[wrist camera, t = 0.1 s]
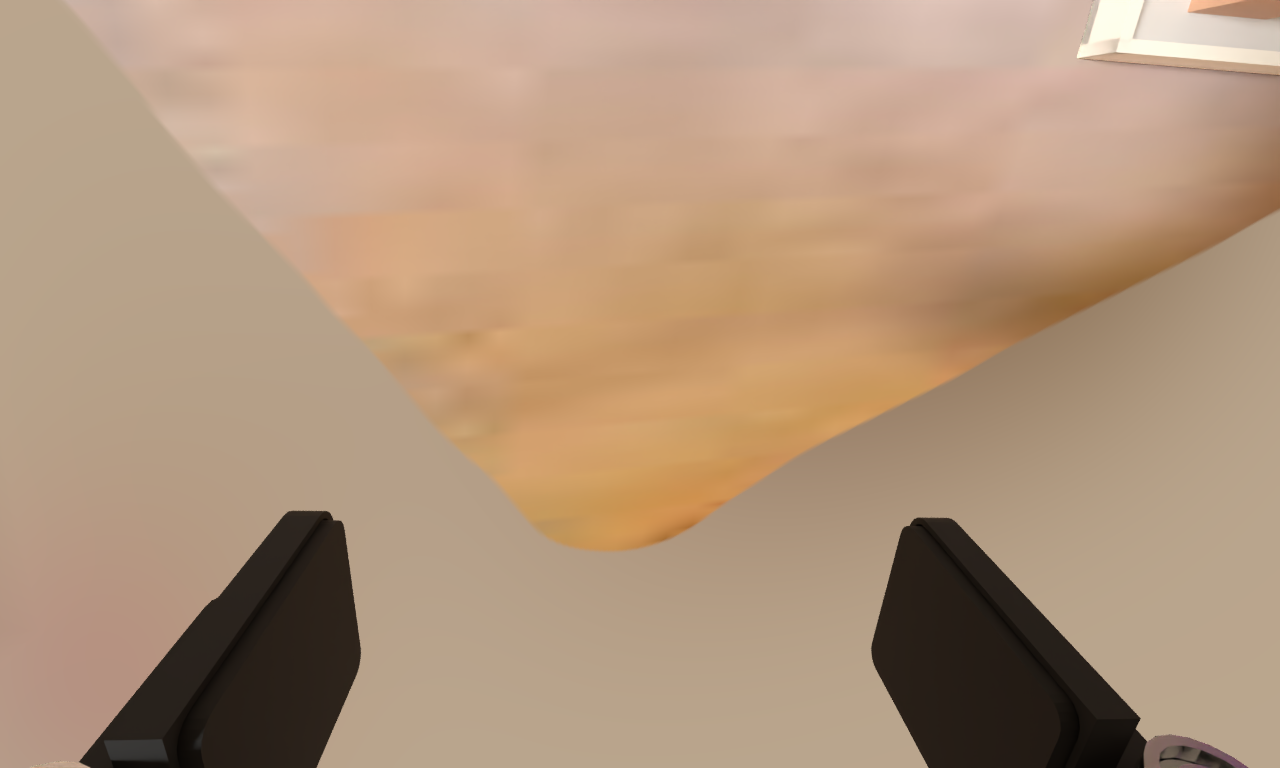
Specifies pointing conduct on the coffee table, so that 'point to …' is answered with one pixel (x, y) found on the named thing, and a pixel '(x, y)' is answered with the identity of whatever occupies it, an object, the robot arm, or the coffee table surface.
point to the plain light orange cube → (1237, 8)
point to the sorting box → (1179, 37)
